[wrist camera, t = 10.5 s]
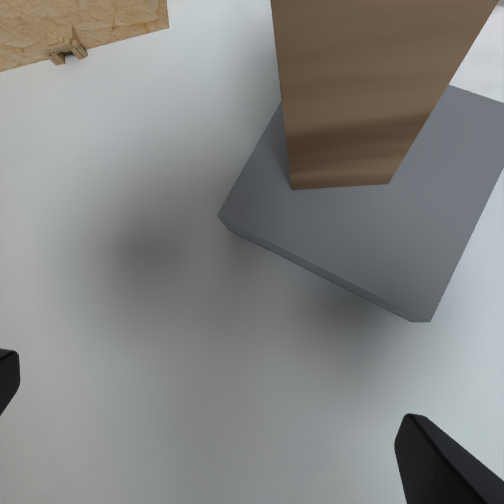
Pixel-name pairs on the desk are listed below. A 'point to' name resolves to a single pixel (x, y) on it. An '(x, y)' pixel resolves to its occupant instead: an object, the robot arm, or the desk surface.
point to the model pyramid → (71, 27)
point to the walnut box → (364, 80)
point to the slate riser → (380, 208)
